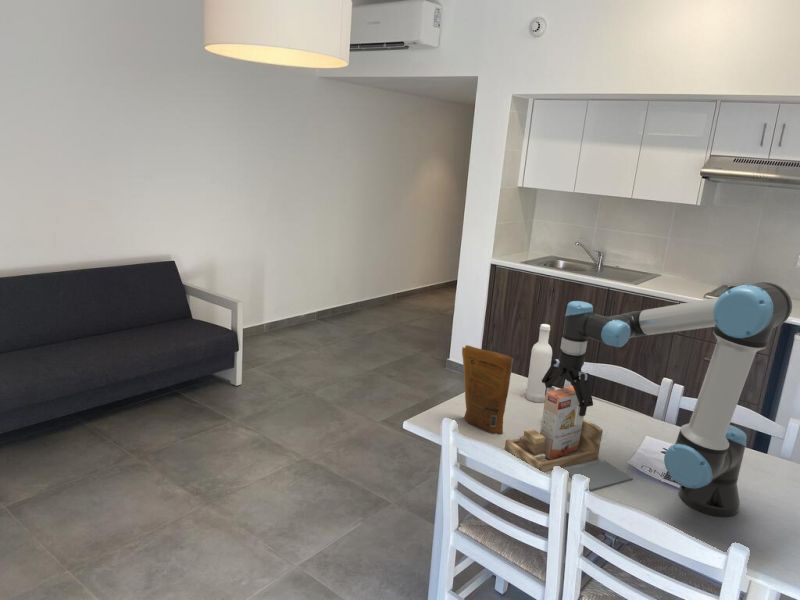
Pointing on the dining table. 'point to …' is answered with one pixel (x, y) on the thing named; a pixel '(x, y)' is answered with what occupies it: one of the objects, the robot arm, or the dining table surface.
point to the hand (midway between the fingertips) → (562, 415)
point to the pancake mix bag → (486, 387)
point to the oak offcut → (534, 437)
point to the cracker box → (560, 423)
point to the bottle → (539, 366)
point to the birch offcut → (538, 456)
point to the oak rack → (587, 444)
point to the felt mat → (601, 474)
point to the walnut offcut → (531, 447)
